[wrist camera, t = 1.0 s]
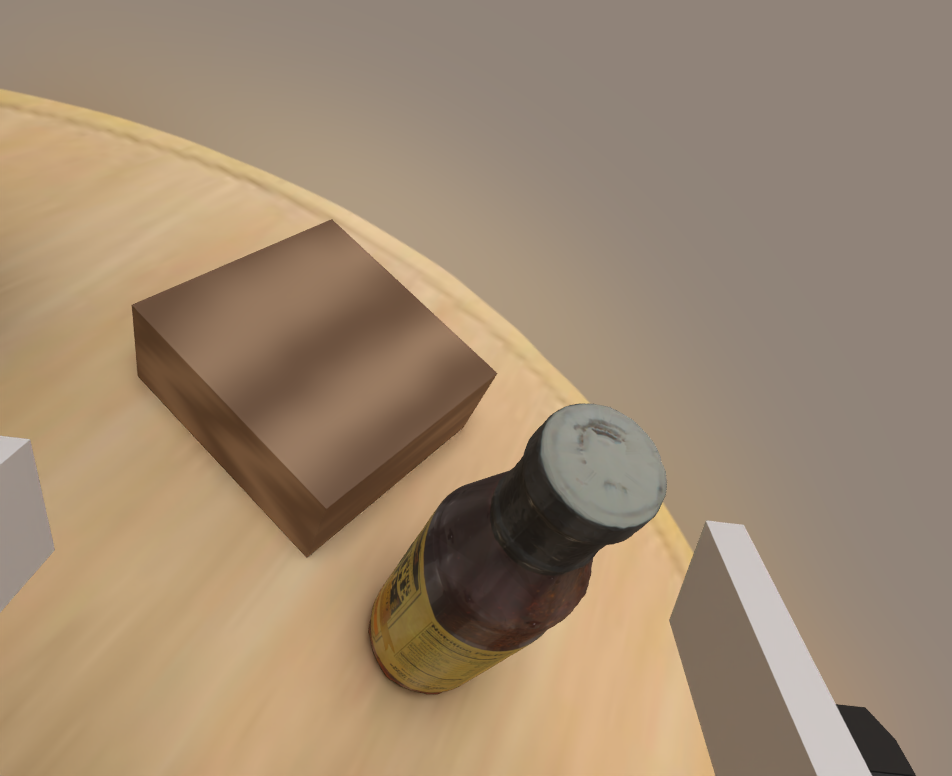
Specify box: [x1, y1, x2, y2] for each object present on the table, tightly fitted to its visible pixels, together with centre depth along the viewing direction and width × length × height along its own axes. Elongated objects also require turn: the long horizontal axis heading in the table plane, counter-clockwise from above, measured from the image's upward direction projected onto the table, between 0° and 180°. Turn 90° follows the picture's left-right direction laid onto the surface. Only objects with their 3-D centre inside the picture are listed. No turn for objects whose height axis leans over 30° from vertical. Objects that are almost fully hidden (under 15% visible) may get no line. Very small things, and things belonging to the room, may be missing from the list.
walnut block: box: [132, 219, 497, 557], centre depth 37 cm, size 14×13×6 cm
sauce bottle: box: [369, 404, 667, 694], centre depth 26 cm, size 7×6×20 cm
